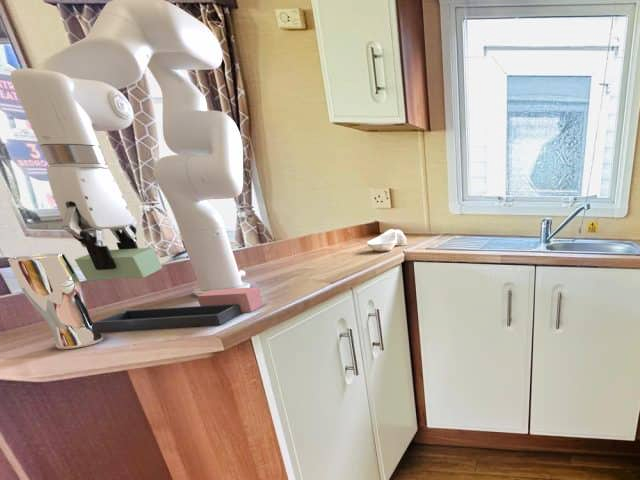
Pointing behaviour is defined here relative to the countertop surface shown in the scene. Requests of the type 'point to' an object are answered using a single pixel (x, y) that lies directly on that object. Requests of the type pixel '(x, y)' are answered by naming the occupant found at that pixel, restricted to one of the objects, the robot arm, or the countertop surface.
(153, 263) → the pad sage
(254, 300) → the pad rose
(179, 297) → the countertop surface
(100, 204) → the robot arm
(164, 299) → the countertop surface
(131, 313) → the frame
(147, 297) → the countertop surface
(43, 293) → the chrome vase
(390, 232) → the spoon rest
